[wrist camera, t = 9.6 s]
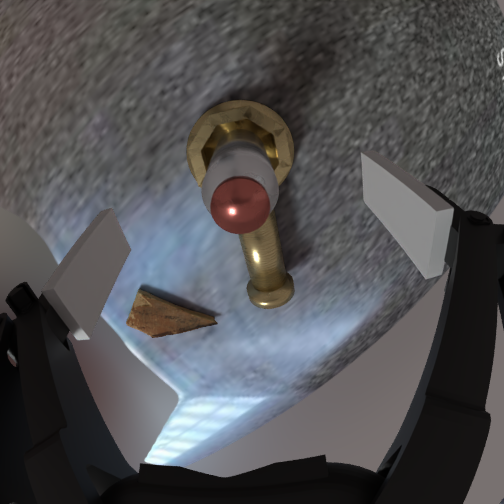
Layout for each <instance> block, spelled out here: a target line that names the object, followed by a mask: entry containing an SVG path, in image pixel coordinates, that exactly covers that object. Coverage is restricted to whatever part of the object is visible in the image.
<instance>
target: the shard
mask: <svg viewBox="0 0 504 504" xmlns="http://www.w3.org/2000/svg"><path fill="white" fill-rule="evenodd" d="M126 324H127V325H128V326H130V327H132V328H134V329H137V330H140V331H142V332H144V333H146V334H147V335H150V336H151V337H152V338H155V337H163V336H166V335H174V334H179V333H183V332H187V331H191V330H195V329H198V328H201V327H206V326H212V325H216V324H218V323H217V322H216V321H215V320H214V317H212V316H209V315H206V314H203V313H199V312H195V311H192V310H189V309H186V308H183V307H181V306H176V305H174V304H172V303H170V302H167V301H166V300H163V299H160V298H158V297H156V296H154V295H152V294H150V293H148V292H146V291H142V290H141V289H139V290H138V292H137V295H136V298H135V301H134V303H133V306H132V309H131V312H130V314H129V317H128V319H127V321H126Z"/></svg>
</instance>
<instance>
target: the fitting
mask: <svg viewBox="0 0 504 504" xmlns="http://www.w3.org/2000/svg"><path fill="white" fill-rule="evenodd" d="M236 129H245V130H249V131H251V132H253V133H255V134H256V135H257V136H259V138H260V139H261V140H262V142H263V144H264V147H265V149H266V152H267V154H268V157H269V160H270V162H271V165H272V167H273V170H274V173H275V175H276V178H277V181H278V185H279V186H280V185H281V183H282V182H283V181H284V180H285V178H286V177H287V175H288V173H289V171H290V169H291V167H292V163H293V158H294V144H293V139H292V135H291V133H290V130H289V128H288V127H287V125H286V123H285V122H284V121H283V119H282V118H281V117H280V116H279V115H278V114H277V113H276V112H274V111H273V110H272V109H270V108H269V107H267V106H265V105H263V104H260V103H258V102H254V101H250V100H232V101H227V102H224V103H221V104H219V105H216V106H214V107H213V108H211V109H210V110H208V111H207V112H206V113H204V114H203V115H202V116H201V117H200V118H199V119H198V121H197V122H196V123H195V125H194V126H193V128H192V130H191V132H190V135H189V138H188V142H187V161H188V165H189V168H190V171H191V173H192V175H193V176H194V178H195V179H196V181H197V183H198V186H199V187H201V188H202V183H203V180H204V177H205V174H206V172H207V169H208V166H209V164H210V161H211V159H212V156H213V153H214V151H215V148H216V146H217V143H218V141H219V140H220V138H221V137H222V136H223V135H224V134H226V133H227V132H229V131H232V130H236ZM238 235H239V239H240V242H241V246H242V250H243V253H244V257H245V261H246V264H247V268H248V272H249V275H250V280H249V282H248V284H247V292H248V296H249V299H250V301H251V303H252V304H253V305H255V306H257V307H259V308H264V309H272V308H277V307H280V306H282V305H284V304H286V303H287V302H288V301H290V300H291V298H292V297H293V295H294V292H295V289H294V283H293V278H292V276H291V275H290V274H289V273H287V272H286V270H285V265H284V259H283V254H282V248H281V243H280V238H279V232H278V227H277V222H276V217H275V212H274V209H273V210H272V212H271V213H270V214H269V216H268V218H267V220H266V221H265V223H264V224H263V225H262V226H261V227H260V228H258V229H257V230H255V231H253V232H250V233H246V234H238Z"/></svg>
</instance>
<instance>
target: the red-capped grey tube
mask: <svg viewBox="0 0 504 504" xmlns="http://www.w3.org/2000/svg"><path fill="white" fill-rule="evenodd" d="M278 195H279V185H278V181H277V178H276V175H275V173H274V170H273V167H272V165H271V162H270V160H269V157H268V154H267V152H266V149H265V147H264V144H263V142H262V140H261V139H260V138H259V136H257V135H256V134H255V133H253V132H251V131H249V130H245V129H236V130H232V131H229V132H227V133H226V134H224V135H223V136H222V137H221V138H220V140H219V141H218V143H217V146H216V148H215V151H214V153H213V156H212V159H211V161H210V164H209V166H208V169H207V172H206V174H205V177H204V180H203V183H202V198H203V202H204V204H205V206H206V208H207V210H208V211H209V213H210V214H211V215H212V217H213V219H214V221H215V222H216V223H217V224H218V226H220V227H221V228H222V229H224V230H225V231H228V232H230V233H235V234H246V233H250V232H253V231H255V230H257V229H258V228H260V227H261V226H262V225H263V224H264V223H265V221H266V220H267V218H268V216H269V214H270V213H271V212H272V210H273V209H274V207H275V205H276V203H277V200H278Z"/></svg>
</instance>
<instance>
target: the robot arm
mask: <svg viewBox="0 0 504 504" xmlns="http://www.w3.org/2000/svg"><path fill="white" fill-rule="evenodd" d="M361 159H362V174H363V196H364V202H365V203H366V205H367V206H368V207H369V208H370V209H371V210H372V212H373V213H374V214H375V215H376V216H377V217H378V219H379V220H380V221H381V222H382V223H383V225H384V226H385V227H386V228H387V229H388V231H389V232H390V233H391V234H392V236H393V237H394V238H395V239H396V241H397V242H398V243H399V244H400V246H401V247H402V248H403V250H404V251H405V252H406V253H407V255H408V256H409V257H410V259H411V260H412V261H413V263H414V264H415V265H416V267H417V268H418V269H419V271H420V272H421V274H422V275H423V276H424V278H425V279H428V278H432V277H435V276H439V275H442V271H443V267H444V262H446V263H447V264H448V265H449V267H450V271H449V275H448V279H447V282H446V286H445V290H444V291H445V295H444V300H443V304H442V309H441V313H440V317H439V321H438V325H437V329H436V333H435V336H434V340H433V343H432V347H431V350H430V353H429V356H428V359H427V362H426V365H425V368H424V371H423V374H422V377H421V380H420V382H419V385H418V388H417V390H416V393H415V395H414V398H413V401H412V403H411V405H410V408H409V410H408V412H407V415H406V417H405V420H404V422H403V424H402V426H401V428H400V430H399V432H398V434H397V436H396V438H395V440H394V442H393V444H392V445H391V447H390V449H389V450H388V452H387V454H386V456H385V458H384V459H383V461H382V463H381V465H380V466H379V468H378V470H377V472H376V473H375V472H373V471H371V470H368V469H365V468H362V467H360V466H355V465H351V464H344V463H331V462H326V457H325V455H321V456H316V457H310V458H305V459H299V460H293V461H285V462H278V463H273V464H270V465H268V466H265V467H262V468H259V469H255V470H252V471H249V472H246V473H242V474H239V475H236V476H232V477H226V478H225V477H218V476H214V475H209V474H205V473H201V472H197V471H193V470H190V469H186V468H183V467H180V466H164V465H151V464H140V469H139V473H137V472H136V471H135V470H134V469H133V468H132V467H131V466H130V465H129V464H128V463H127V461H126V460H125V458H124V457H123V455H122V453H121V451H120V450H119V448H118V446H117V444H116V443H115V441H114V439H113V437H112V435H111V433H110V432H109V430H108V428H107V426H106V424H105V422H104V420H103V418H102V416H101V414H100V412H99V409H98V408H97V405H96V403H95V401H94V399H93V396H92V394H91V392H90V390H89V387H88V385H87V383H86V380H85V378H84V375H83V373H82V371H81V367H80V365H79V362H78V360H77V357H76V354H75V351H74V348H73V345H72V343H71V342H70V340H69V339H68V338H67V334H68V333H69V331H71V333H72V334H73V335H74V336H75V338H76V339H77V340H86V339H90V338H91V336H92V334H93V331H94V328H95V326H96V324H97V322H98V319H99V317H100V315H101V312H102V310H103V308H104V305H105V303H106V301H107V299H108V296H109V294H110V292H111V290H112V288H113V286H114V284H115V281H116V279H117V277H118V275H119V273H120V271H121V269H122V267H123V265H124V263H125V261H126V259H127V257H128V255H129V253H130V251H131V248H130V246H129V244H128V242H127V240H126V238H125V236H124V233H123V231H122V229H121V227H120V225H119V222H118V220H117V218H116V216H115V213H114V211H113V209H112V208H110V209H106V210H103V211H101V212H100V213H99V214H98V215H97V217H96V218H95V219H94V220H93V221H92V223H91V224H90V225H89V226H88V228H87V229H86V230H85V231H84V233H83V234H82V235H81V236H80V238H79V239H78V240H77V241H76V243H75V244H74V245H73V247H72V248H71V249H70V251H69V252H68V253H67V255H66V256H65V257H64V259H63V260H62V261H61V263H60V264H59V266H58V267H57V269H56V270H55V271H54V273H53V274H52V276H51V277H50V279H49V280H48V282H47V283H46V284H45V286H44V288H43V289H42V291H41V292H42V294H41V296H40V297H39V299H38V298H37V297H36V295H35V294H34V292H33V291H32V289H31V288H30V286H29V285H28V283H27V282H23V283H20V284H19V285H17V286H16V287H15V288H14V289H13V290H12V291H11V292H10V293H9V294H8V296H7V298H6V302H7V304H8V305H9V306H10V308H11V309H12V311H13V312H14V313H15V315H16V316H17V318H16V319H14V320H11V319H10V317H9V316H8V315H7V313H2V314H0V504H463V502H464V500H465V498H466V496H467V493H468V491H469V489H470V486H471V484H472V481H473V479H474V476H475V474H476V471H477V468H478V465H479V462H480V460H481V457H482V453H483V450H484V447H485V444H486V440H487V437H488V433H489V429H490V423H491V417H490V414H489V413H488V412H486V411H485V404H486V399H487V394H488V389H489V384H490V378H491V372H492V365H493V358H494V349H495V340H496V327H497V307H498V305H499V310H500V314H501V319H502V324H503V328H504V225H502V224H493V222H492V220H491V219H490V218H489V217H488V216H487V215H485V214H483V213H481V212H478V211H471V210H470V211H464V210H462V209H461V208H460V207H459V206H458V205H456V204H455V203H454V202H453V201H451V200H449V198H447V197H446V196H445V195H443V194H442V193H441V192H440V191H438V190H437V189H435V188H433V187H430V186H428V185H424V184H423V183H421V182H420V181H419V180H417V179H416V178H414V177H413V176H412V175H410V174H409V173H407V172H406V171H405V170H403V169H402V168H400V167H399V166H397V165H396V164H394V163H393V162H391V161H390V160H388V159H387V158H385V157H384V156H382V155H381V154H379V153H378V152H376V151H367V152H361ZM7 354H8V355H9V356H10V357H11V358H12V359H13V360H14V361H15V362H16V367H14V366H13V365H12V364H11V363H10V361H9V359H8V355H7ZM500 504H504V499H502V501H501V502H500Z"/></svg>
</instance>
